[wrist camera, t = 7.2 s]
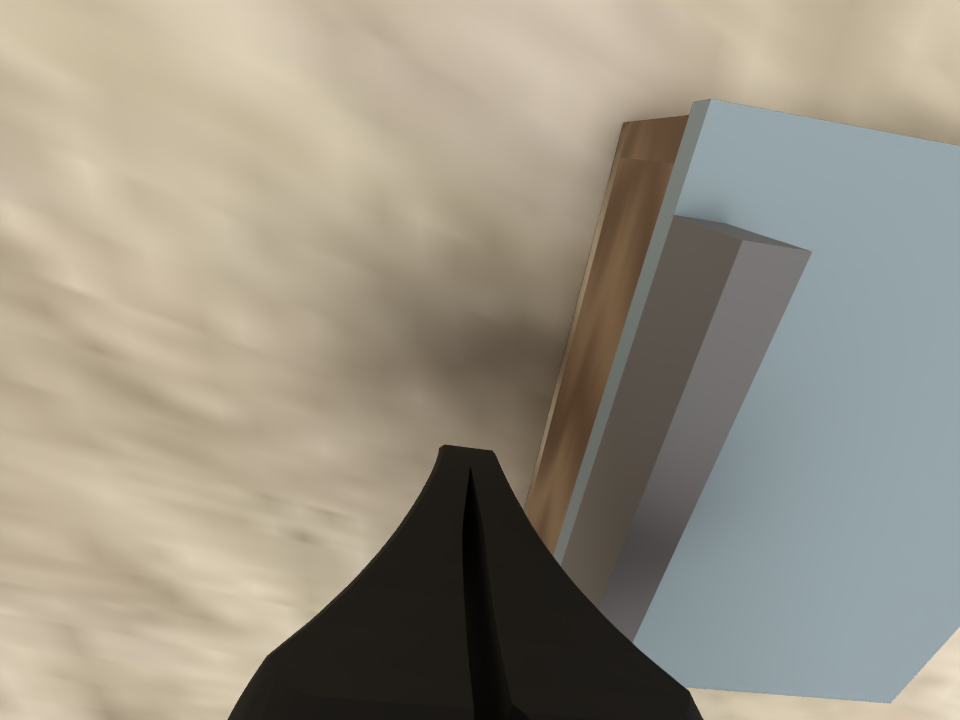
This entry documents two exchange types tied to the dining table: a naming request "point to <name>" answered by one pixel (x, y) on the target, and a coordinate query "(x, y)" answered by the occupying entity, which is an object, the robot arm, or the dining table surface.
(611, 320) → the box
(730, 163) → the lid
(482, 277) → the dining table surface
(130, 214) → the dining table surface
